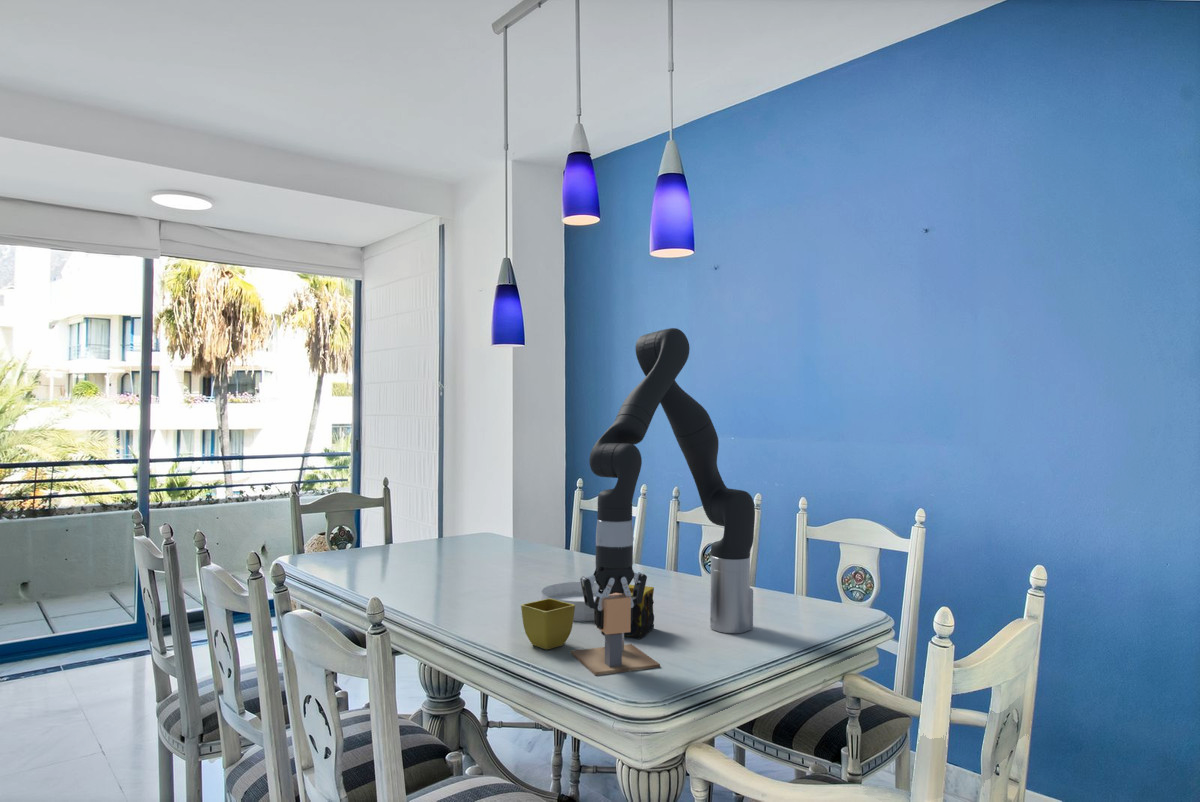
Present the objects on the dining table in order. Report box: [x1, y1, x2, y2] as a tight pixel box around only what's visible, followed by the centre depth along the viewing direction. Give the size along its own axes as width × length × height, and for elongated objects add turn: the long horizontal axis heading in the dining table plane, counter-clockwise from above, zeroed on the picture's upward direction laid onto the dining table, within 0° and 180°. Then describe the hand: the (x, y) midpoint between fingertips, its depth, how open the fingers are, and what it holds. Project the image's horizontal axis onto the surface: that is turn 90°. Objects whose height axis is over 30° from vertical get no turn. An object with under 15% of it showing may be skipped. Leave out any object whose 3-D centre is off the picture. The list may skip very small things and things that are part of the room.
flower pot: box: [520, 598, 575, 650], centre depth 163 cm, size 9×9×9 cm
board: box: [570, 643, 661, 676], centre depth 154 cm, size 14×14×1 cm
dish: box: [540, 581, 599, 622], centre depth 194 cm, size 22×22×5 cm
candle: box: [600, 583, 655, 640], centre depth 175 cm, size 10×10×10 cm
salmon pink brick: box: [597, 593, 631, 635], centre depth 149 cm, size 5×5×7 cm
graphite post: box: [604, 633, 622, 667], centre depth 149 cm, size 3×3×6 cm
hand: (613, 626), depth 149 cm, fingers closed on salmon pink brick, 5 cm apart
